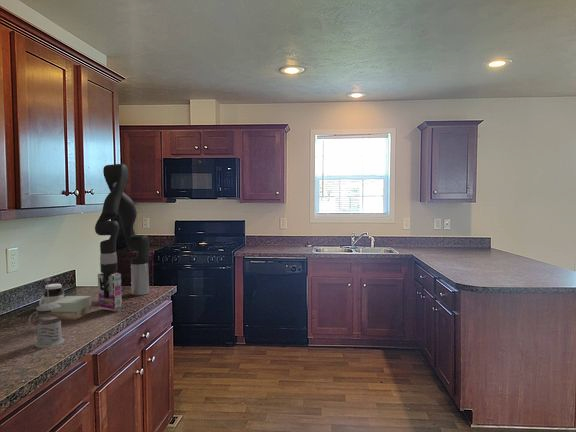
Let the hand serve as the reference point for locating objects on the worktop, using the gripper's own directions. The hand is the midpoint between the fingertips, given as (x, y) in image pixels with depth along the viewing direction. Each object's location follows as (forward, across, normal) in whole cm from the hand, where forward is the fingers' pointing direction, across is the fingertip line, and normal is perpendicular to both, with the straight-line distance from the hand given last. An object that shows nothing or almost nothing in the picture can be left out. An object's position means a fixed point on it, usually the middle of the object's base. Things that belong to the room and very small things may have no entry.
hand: (110, 296), depth 193 cm
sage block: (+3, +8, -14) cm, 17 cm away
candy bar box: (+5, 0, 0) cm, 5 cm away
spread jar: (+7, -3, -32) cm, 33 cm away
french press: (+7, +42, -2) cm, 43 cm away
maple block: (+7, +8, -14) cm, 18 cm away
